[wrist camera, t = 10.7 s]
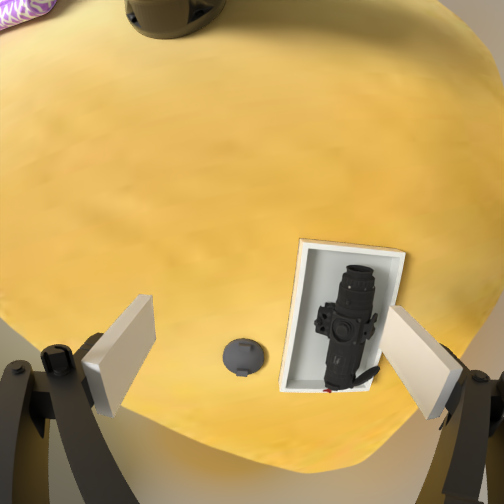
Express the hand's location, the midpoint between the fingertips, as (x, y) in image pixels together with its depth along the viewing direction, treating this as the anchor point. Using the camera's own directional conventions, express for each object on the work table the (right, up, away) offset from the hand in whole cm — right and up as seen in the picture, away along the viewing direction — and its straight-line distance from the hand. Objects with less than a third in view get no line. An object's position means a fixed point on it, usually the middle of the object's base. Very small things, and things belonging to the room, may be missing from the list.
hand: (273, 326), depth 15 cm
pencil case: (-48, +53, +14) cm, 72 cm away
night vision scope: (+12, -6, +25) cm, 29 cm away
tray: (+11, -6, +26) cm, 29 cm away
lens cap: (-2, -11, +27) cm, 30 cm away
